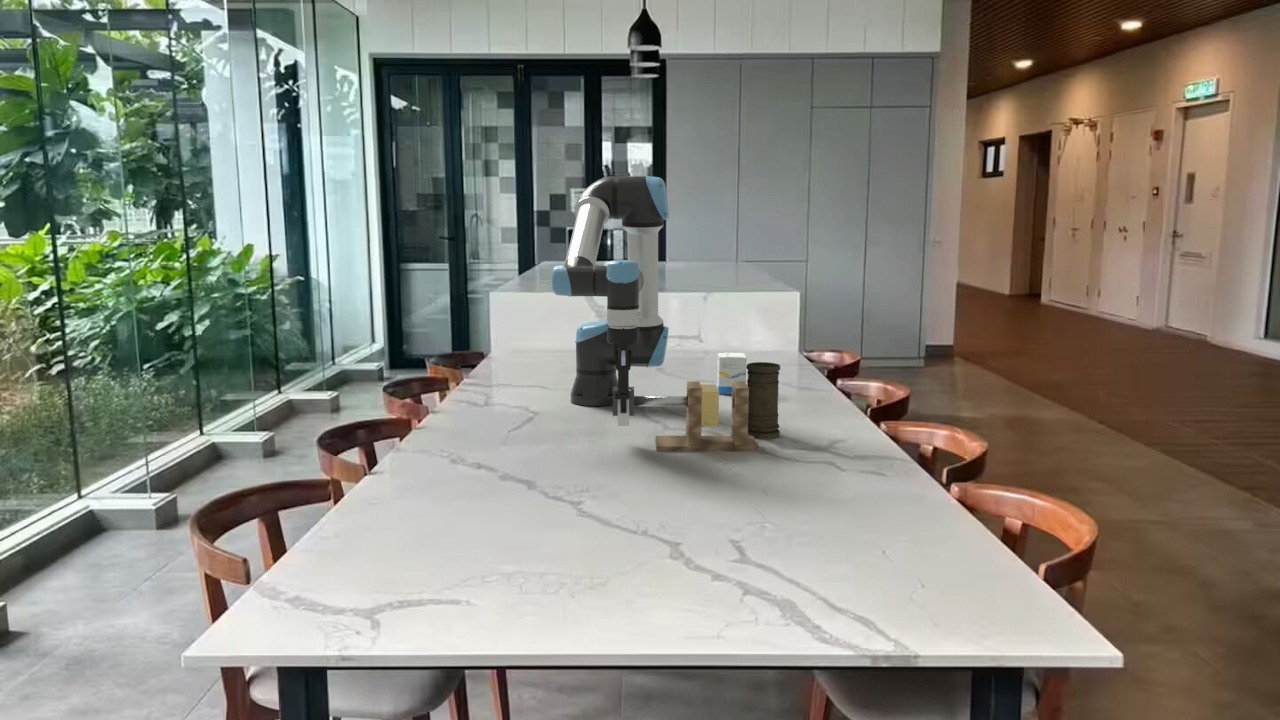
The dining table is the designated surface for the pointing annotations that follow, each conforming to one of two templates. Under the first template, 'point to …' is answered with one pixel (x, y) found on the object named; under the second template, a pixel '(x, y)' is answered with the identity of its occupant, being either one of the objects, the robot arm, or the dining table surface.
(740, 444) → the bearing rig
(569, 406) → the dining table surface
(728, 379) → the ink box
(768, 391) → the container
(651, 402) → the shaft
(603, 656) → the dining table surface
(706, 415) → the spacer
